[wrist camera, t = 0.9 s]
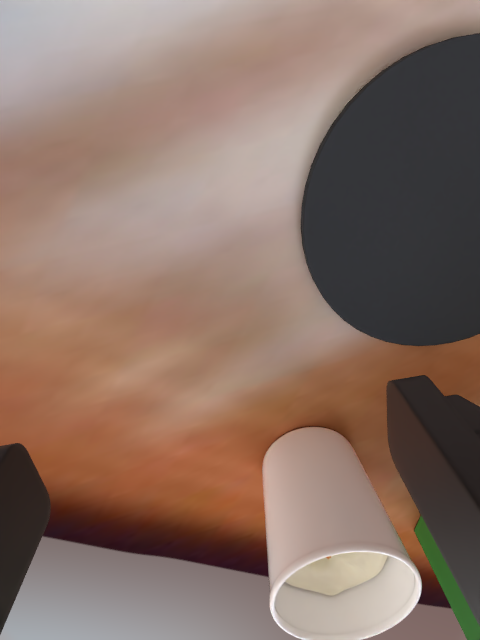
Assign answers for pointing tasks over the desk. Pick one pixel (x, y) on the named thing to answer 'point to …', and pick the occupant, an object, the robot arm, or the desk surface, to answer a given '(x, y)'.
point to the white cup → (331, 542)
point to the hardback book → (447, 582)
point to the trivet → (402, 201)
